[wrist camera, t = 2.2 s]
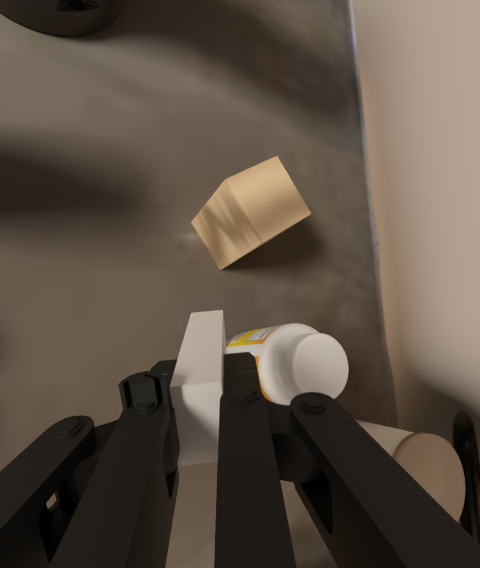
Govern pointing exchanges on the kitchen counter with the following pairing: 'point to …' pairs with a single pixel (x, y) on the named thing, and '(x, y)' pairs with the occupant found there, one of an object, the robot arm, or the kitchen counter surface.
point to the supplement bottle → (294, 361)
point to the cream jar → (425, 463)
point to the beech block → (249, 211)
